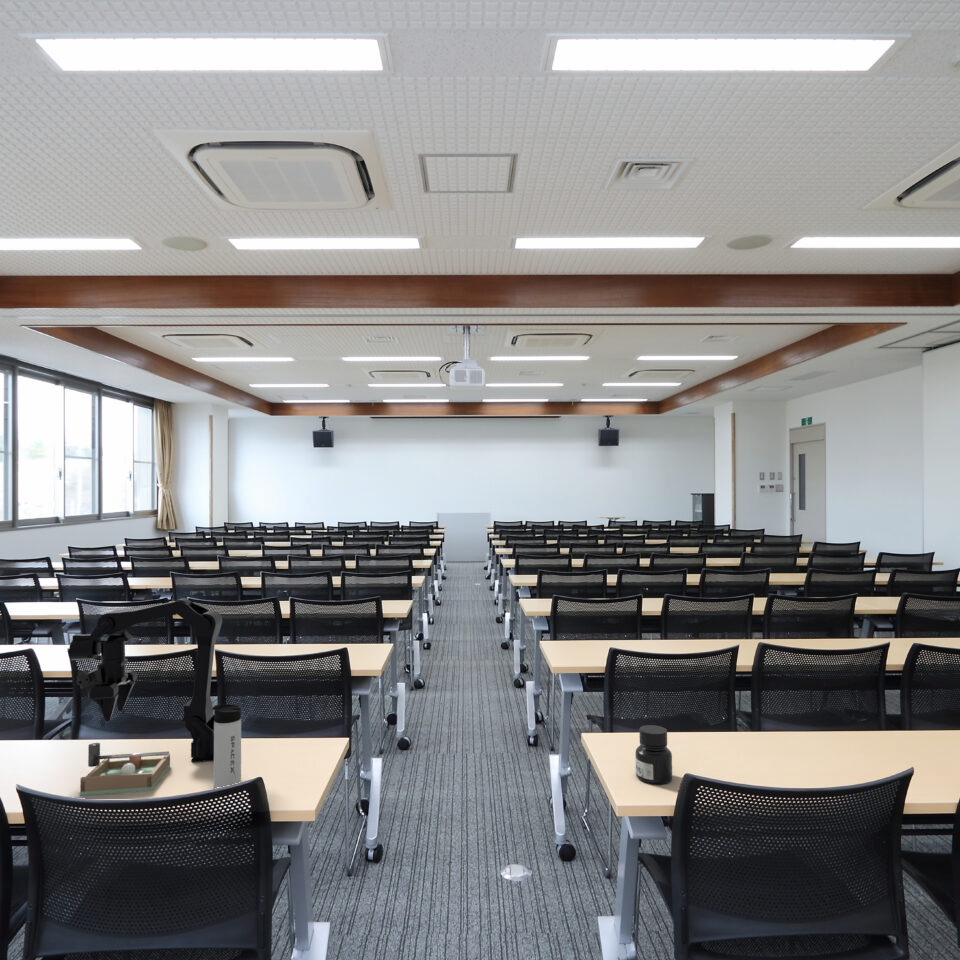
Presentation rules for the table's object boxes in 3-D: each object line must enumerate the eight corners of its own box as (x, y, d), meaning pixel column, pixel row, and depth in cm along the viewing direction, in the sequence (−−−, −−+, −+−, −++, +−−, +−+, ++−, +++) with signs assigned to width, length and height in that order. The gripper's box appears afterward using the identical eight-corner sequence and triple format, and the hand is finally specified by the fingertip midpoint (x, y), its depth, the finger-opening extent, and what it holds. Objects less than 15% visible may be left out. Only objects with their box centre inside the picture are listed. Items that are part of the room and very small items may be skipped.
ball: (137, 773, 171) (137, 760, 171) (132, 778, 168) (132, 765, 168) (123, 774, 171) (123, 761, 171) (119, 779, 168) (119, 766, 168)
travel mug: (216, 783, 166) (217, 702, 167) (243, 782, 167) (244, 701, 168) (208, 794, 160) (209, 710, 161) (237, 793, 161) (237, 709, 161)
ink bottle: (630, 770, 172) (630, 723, 173) (664, 769, 173) (663, 722, 173) (642, 786, 163) (642, 736, 163) (678, 785, 163) (677, 735, 164)
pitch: (170, 766, 178) (170, 751, 178) (151, 790, 163) (151, 773, 163) (105, 770, 175) (105, 755, 175) (80, 795, 160) (80, 778, 161)
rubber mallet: (170, 763, 177) (170, 738, 177) (167, 767, 174) (167, 741, 175) (90, 768, 174) (91, 743, 174) (86, 772, 172) (86, 746, 172)
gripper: (95, 652, 190) (96, 707, 190) (65, 668, 172) (66, 729, 171) (137, 649, 192) (138, 704, 191) (112, 665, 173) (113, 725, 173)
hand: (114, 715), depth 182 cm, fingers open, 9 cm apart
